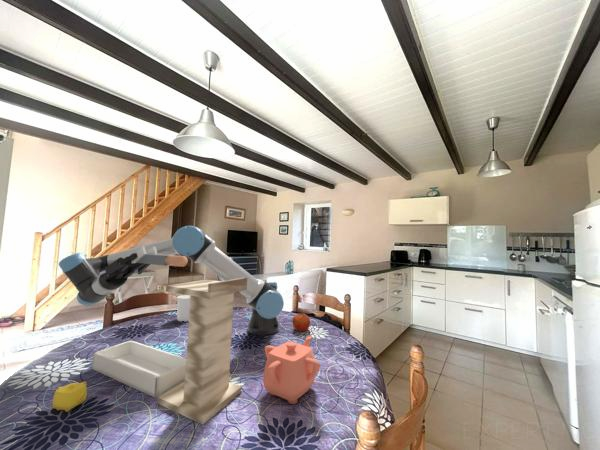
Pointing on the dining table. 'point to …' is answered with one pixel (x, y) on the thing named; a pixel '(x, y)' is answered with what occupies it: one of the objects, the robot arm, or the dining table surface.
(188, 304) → the candle holder
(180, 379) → the tray
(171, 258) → the grey long square-ended piece
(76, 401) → the toy block
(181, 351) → the dining table surface
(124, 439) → the dining table surface
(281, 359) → the teapot
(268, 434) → the dining table surface
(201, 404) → the wooden pedestal stand
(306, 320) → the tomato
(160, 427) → the dining table surface
